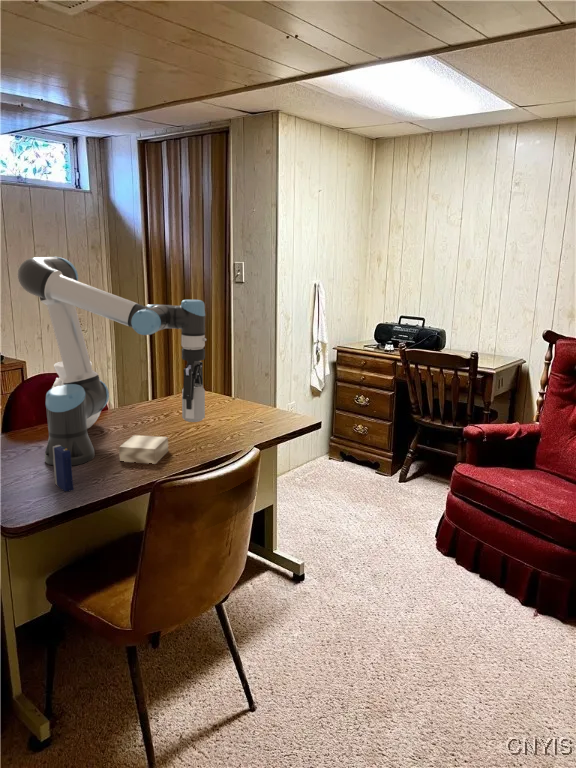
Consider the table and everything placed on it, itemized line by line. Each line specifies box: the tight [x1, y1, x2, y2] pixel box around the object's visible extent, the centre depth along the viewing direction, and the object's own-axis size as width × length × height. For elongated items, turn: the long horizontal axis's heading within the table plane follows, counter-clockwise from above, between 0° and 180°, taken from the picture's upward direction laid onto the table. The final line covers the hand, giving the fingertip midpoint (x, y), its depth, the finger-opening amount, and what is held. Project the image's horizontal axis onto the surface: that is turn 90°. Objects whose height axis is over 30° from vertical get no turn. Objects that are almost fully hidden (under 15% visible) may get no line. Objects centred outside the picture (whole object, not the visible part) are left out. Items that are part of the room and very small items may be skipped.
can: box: [181, 383, 206, 423], centre depth 190 cm, size 8×8×12 cm
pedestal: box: [118, 434, 169, 465], centre depth 187 cm, size 12×12×5 cm
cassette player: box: [53, 445, 74, 492], centre depth 161 cm, size 7×2×12 cm, turn 43°
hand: (193, 414), depth 191 cm, fingers closed on can, 7 cm apart
